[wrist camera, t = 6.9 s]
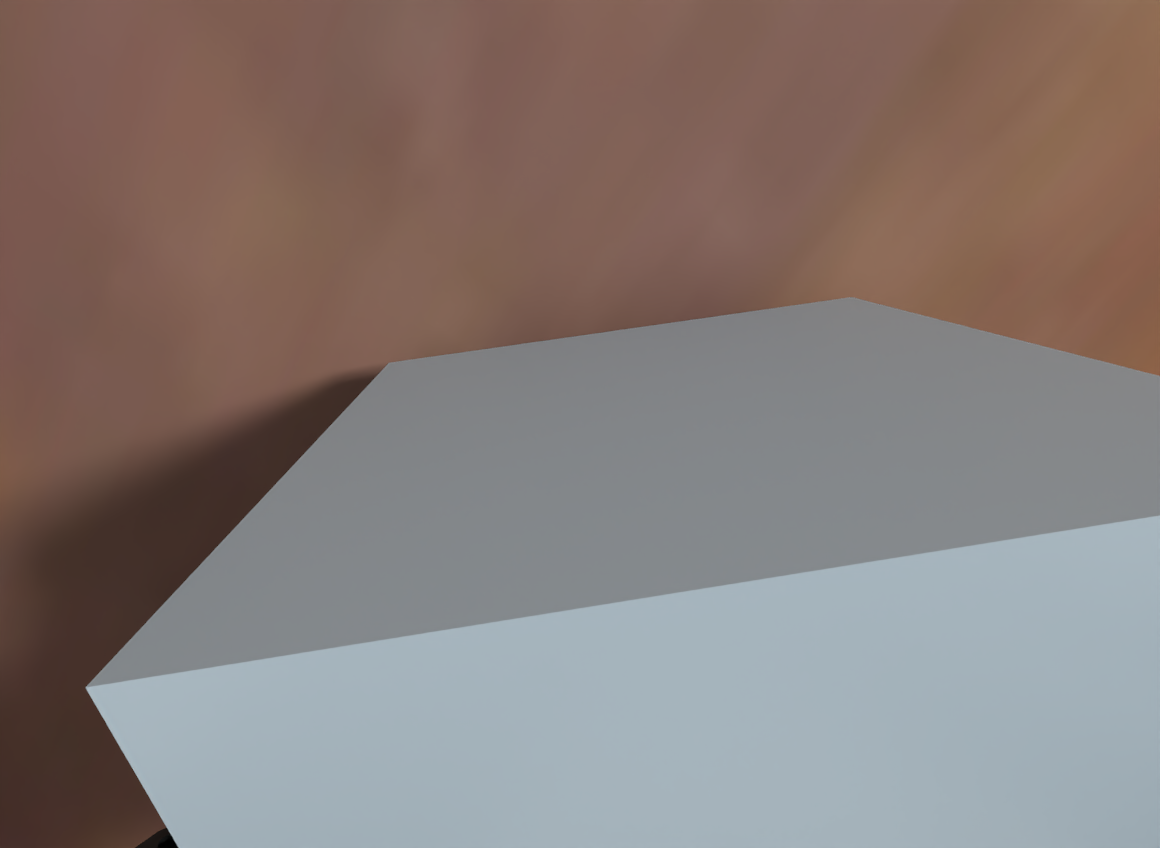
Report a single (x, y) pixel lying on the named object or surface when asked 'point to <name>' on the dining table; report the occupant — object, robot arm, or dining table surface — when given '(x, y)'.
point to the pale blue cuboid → (681, 603)
